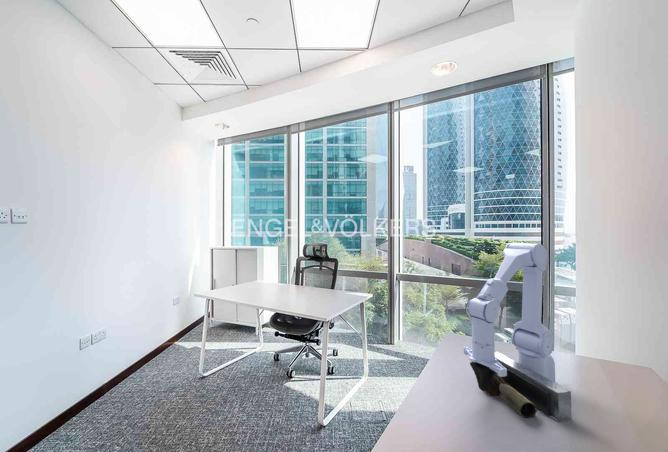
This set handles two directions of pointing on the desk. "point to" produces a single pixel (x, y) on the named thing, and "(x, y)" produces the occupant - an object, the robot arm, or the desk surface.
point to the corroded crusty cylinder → (511, 397)
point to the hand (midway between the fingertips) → (484, 389)
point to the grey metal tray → (537, 389)
